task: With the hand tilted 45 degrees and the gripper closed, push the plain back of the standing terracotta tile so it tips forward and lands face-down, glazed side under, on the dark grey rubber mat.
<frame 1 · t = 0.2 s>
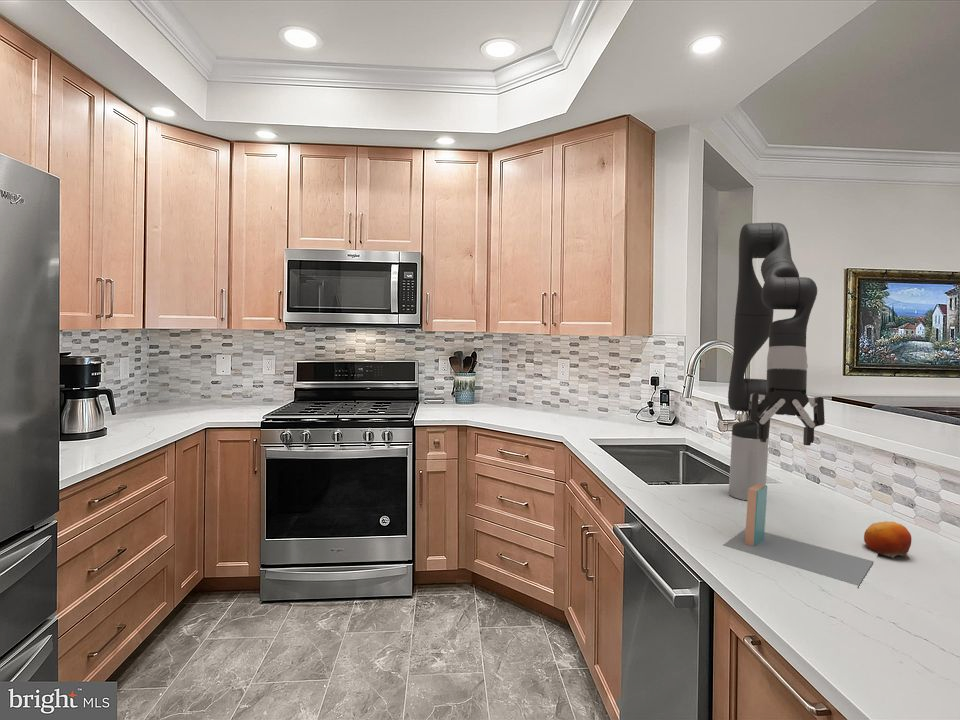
hand: (784, 443, 114), 22 cm above the worktop, tool pointing down, fingers open, 8 cm apart
mat: (795, 555, 110), on the worktop
tile: (754, 541, 116), point 1 cm above the worktop, touching mat
fruit: (886, 554, 113), on the worktop
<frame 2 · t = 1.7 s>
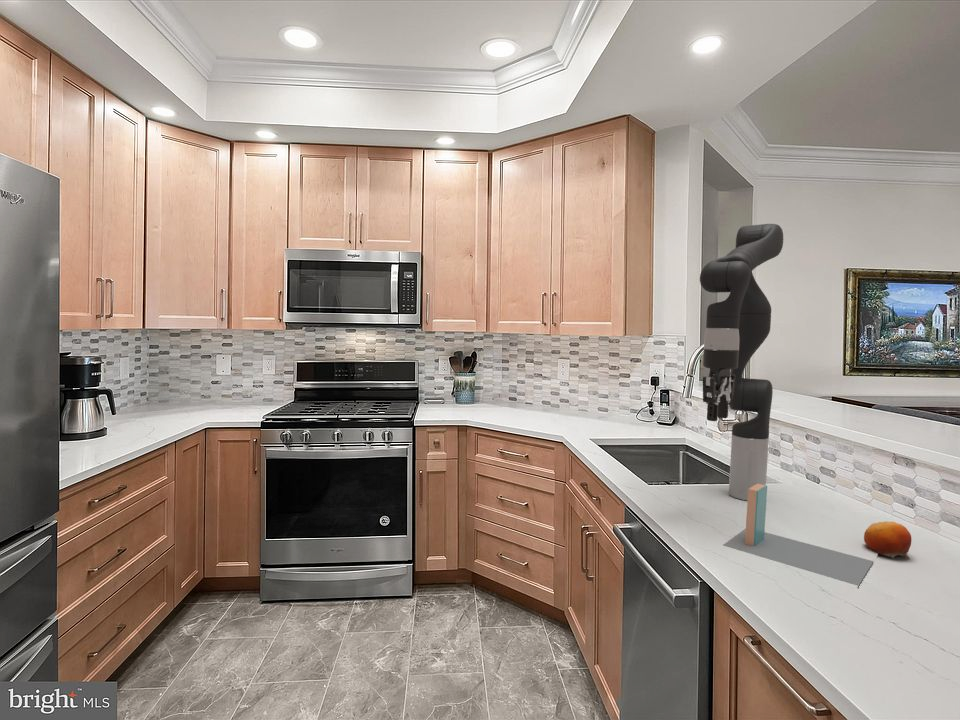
hand: (717, 418, 125), 26 cm above the worktop, tool pointing down, fingers open, 5 cm apart
nothing on the worktop moved.
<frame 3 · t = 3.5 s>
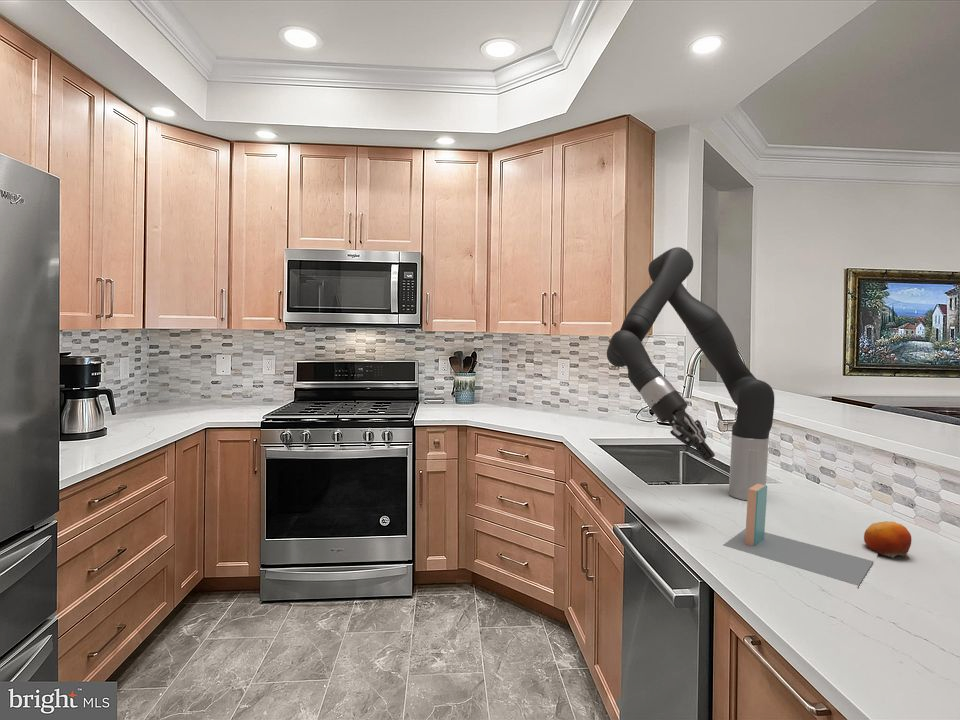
hand: (710, 458, 122), 17 cm above the worktop, tool tilted 45°, fingers closed
nothing on the worktop moved.
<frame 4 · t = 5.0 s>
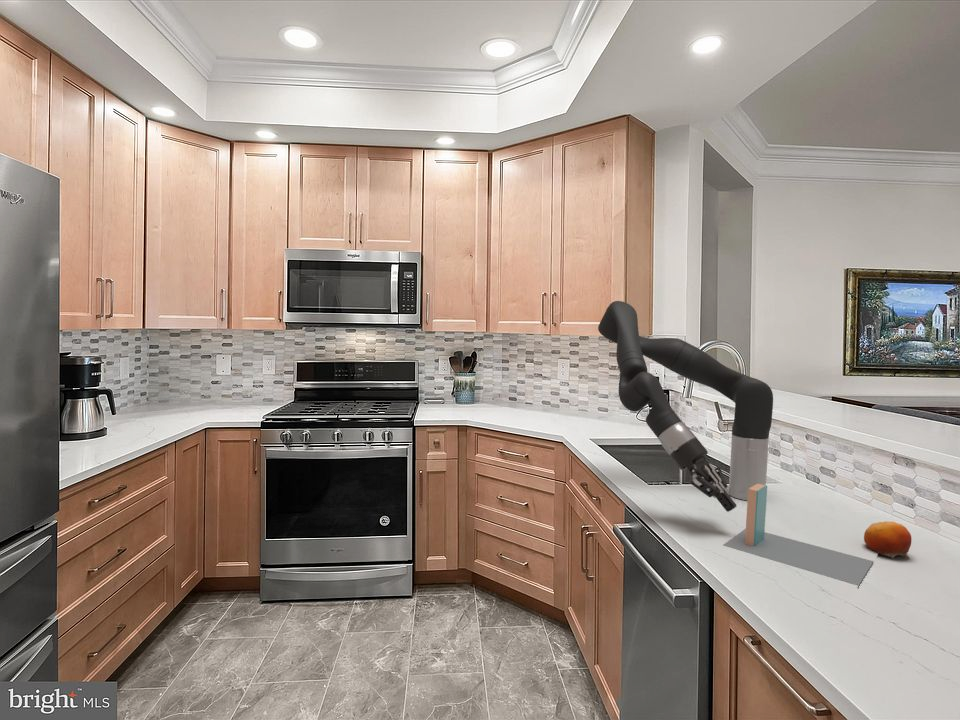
hand: (732, 509, 119), 6 cm above the worktop, tool tilted 45°, fingers closed
nothing on the worktop moved.
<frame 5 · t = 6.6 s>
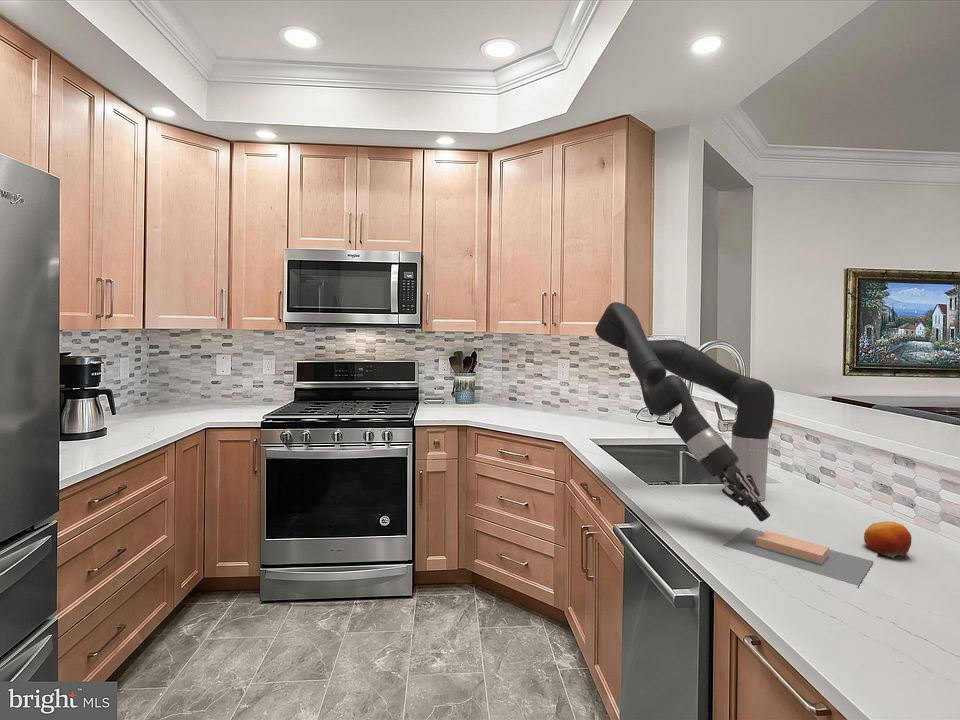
hand: (765, 519, 114), 6 cm above the worktop, tool tilted 45°, fingers closed
tile: (760, 538, 115), point 2 cm above the worktop, tilted 90°, touching mat
everything else where it was.
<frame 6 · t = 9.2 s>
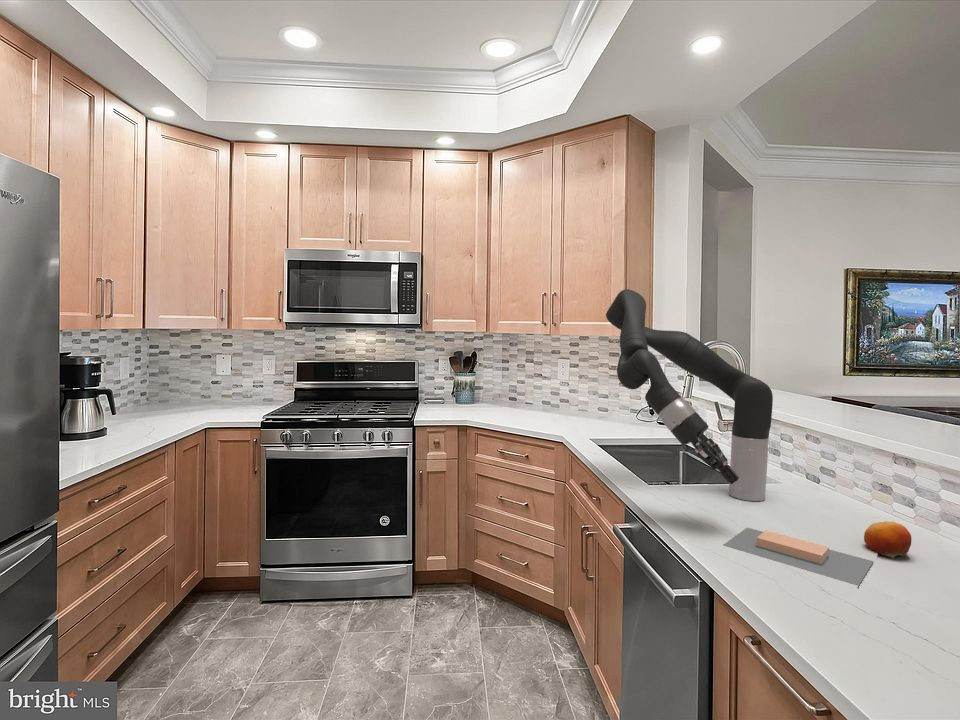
hand: (735, 481, 120), 12 cm above the worktop, tool tilted 45°, fingers closed
nothing on the worktop moved.
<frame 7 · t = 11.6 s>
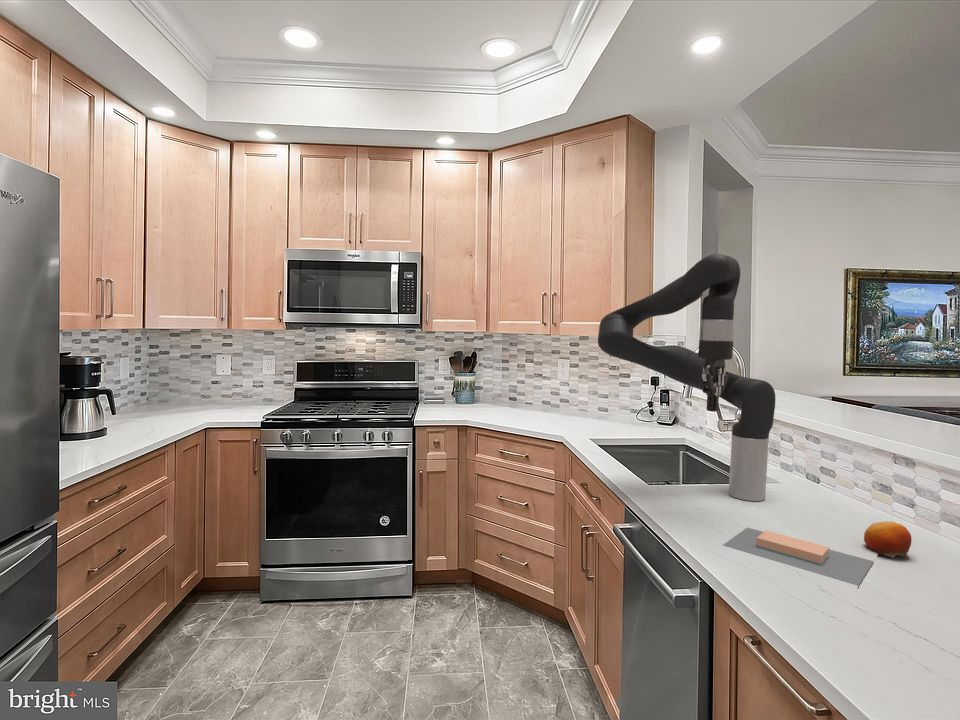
hand: (712, 410, 128), 27 cm above the worktop, tool pointing down, fingers closed
nothing on the worktop moved.
at the end: tile tilted 90°; tile inside the target area (7.2 cm from its centre), point 1.6 cm above the worktop; tile touching mat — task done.
